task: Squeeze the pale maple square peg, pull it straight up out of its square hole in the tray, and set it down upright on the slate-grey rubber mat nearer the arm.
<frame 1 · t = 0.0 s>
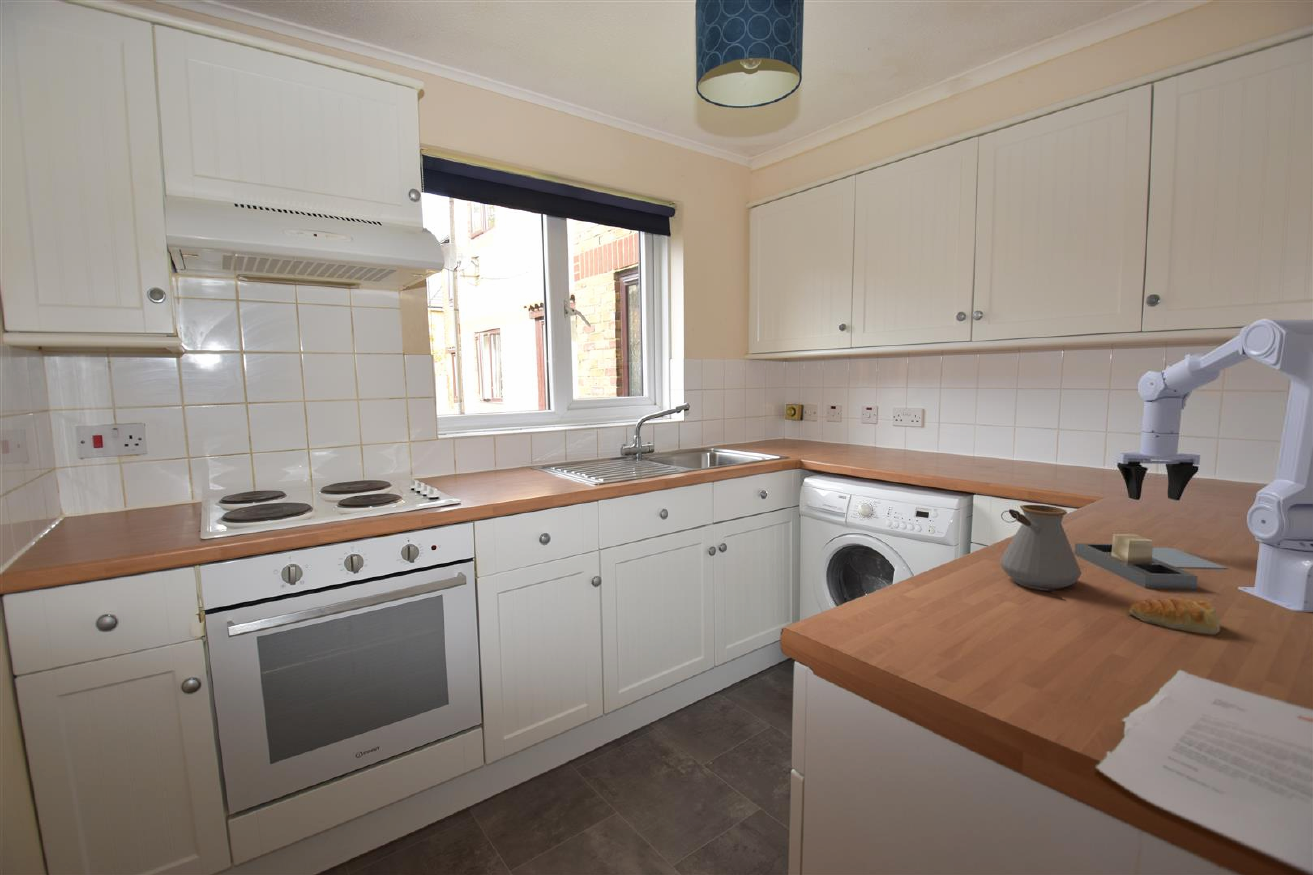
hand: (1153, 499, 119), 10 cm above the countertop, tool pointing down, fingers open, 7 cm apart
coffee pot: (1027, 590, 96), on the countertop
mat: (1164, 559, 112), on the countertop
tray: (1129, 572, 105), on the countertop
pastry: (1177, 626, 84), on the countertop
peg: (1129, 570, 105), resting on tray
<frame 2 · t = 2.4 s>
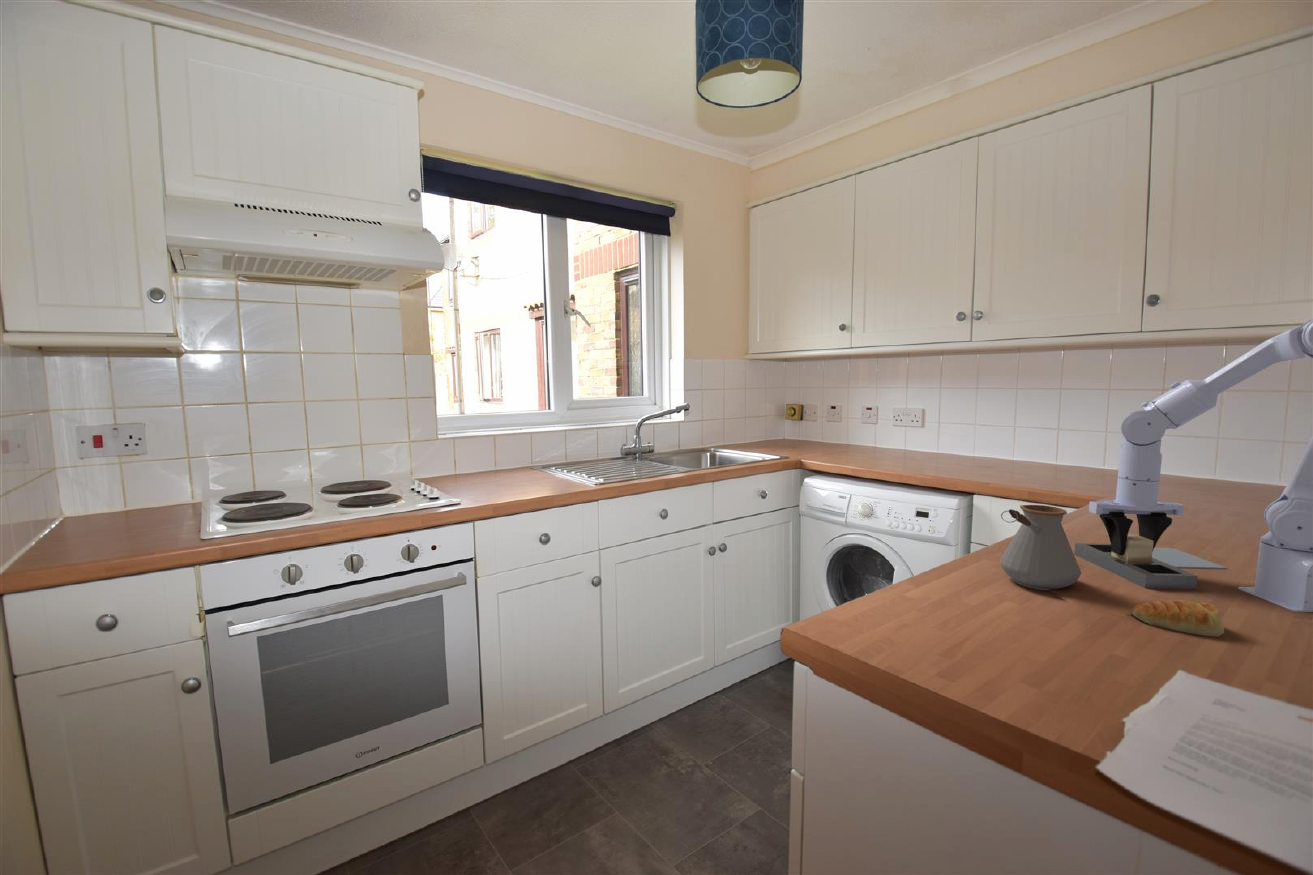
hand: (1131, 553, 104), 3 cm above the countertop, tool pointing down, fingers closed on peg, 4 cm apart
peg: (1129, 570, 105), resting on tray, touching gripper
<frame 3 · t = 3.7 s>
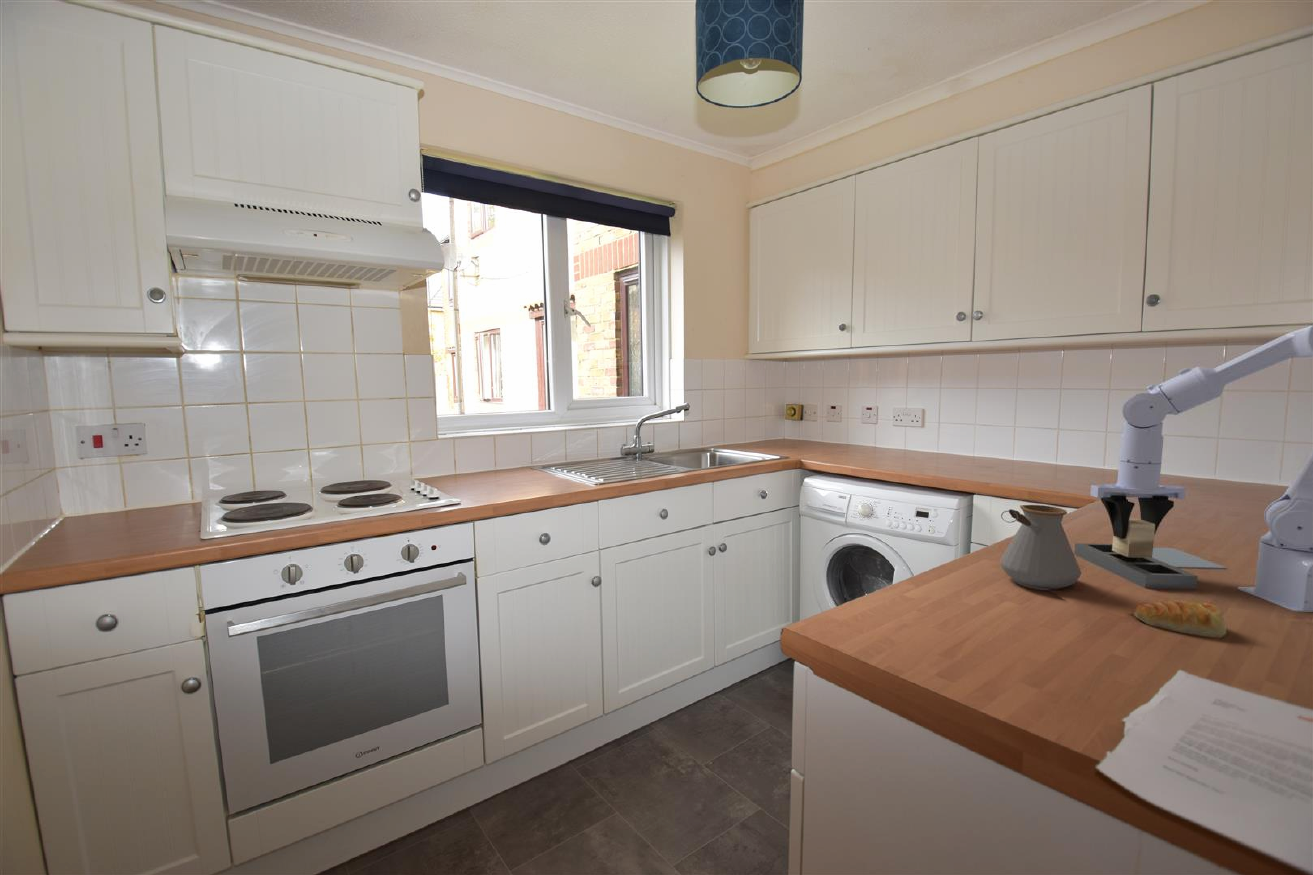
hand: (1133, 537, 104), 6 cm above the countertop, tool pointing down, fingers closed on peg, 4 cm apart
peg: (1131, 554, 104), point 3 cm above the countertop, touching gripper
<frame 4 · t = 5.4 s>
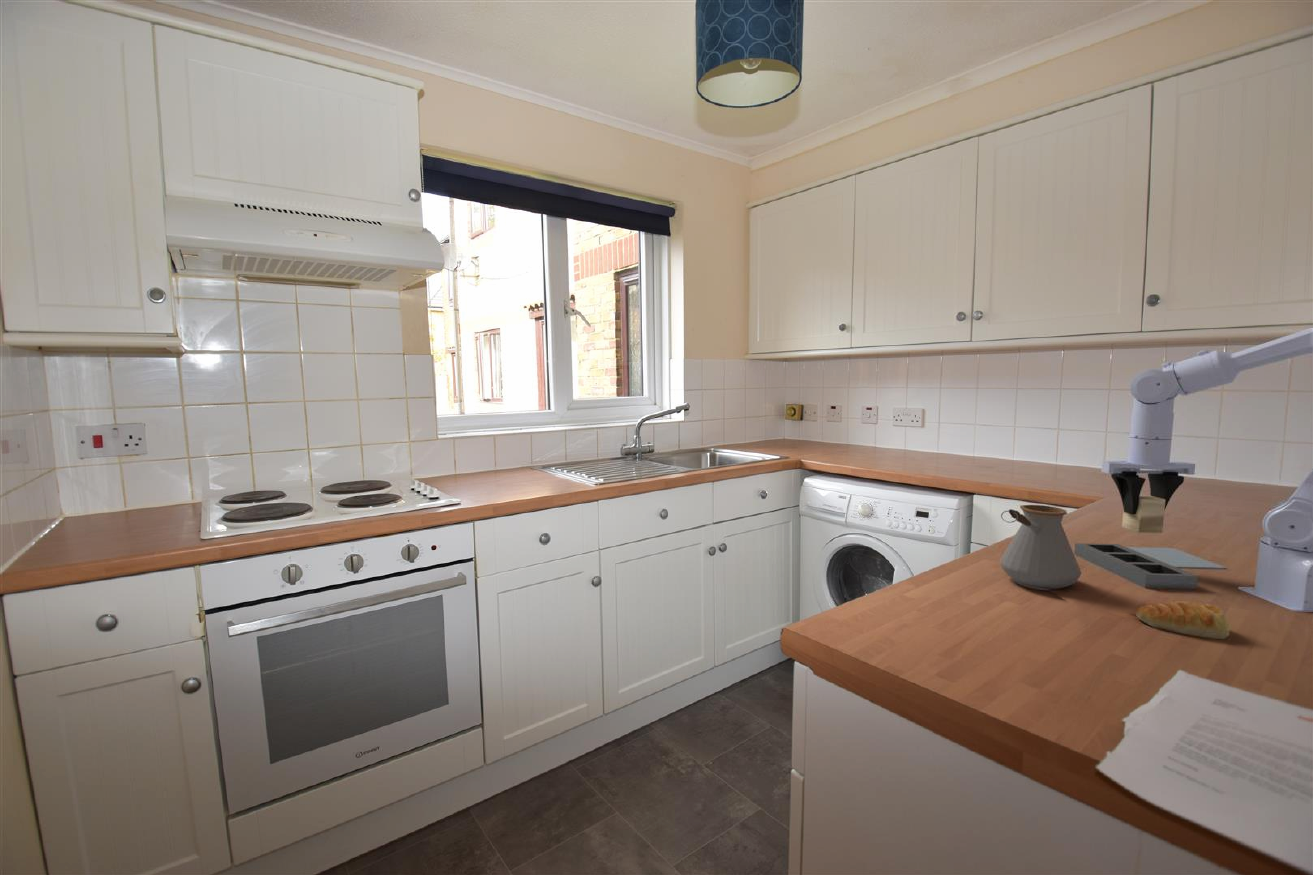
hand: (1143, 513, 105), 10 cm above the countertop, tool pointing down, fingers closed on peg, 4 cm apart
peg: (1141, 529, 106), point 7 cm above the countertop, touching gripper
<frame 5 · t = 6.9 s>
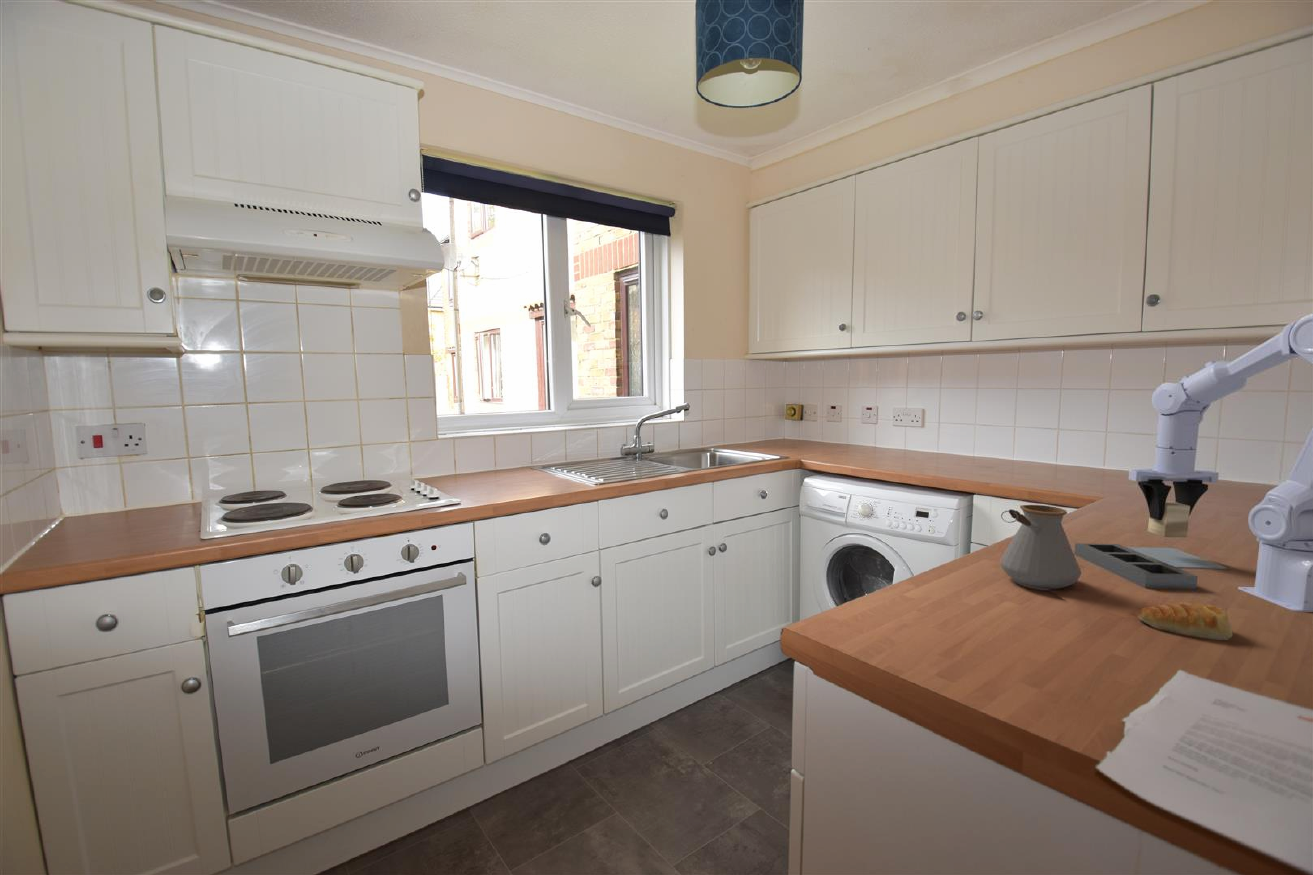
hand: (1168, 519, 111), 8 cm above the countertop, tool pointing down, fingers closed on peg, 4 cm apart
peg: (1166, 534, 112), point 5 cm above the countertop, touching gripper
when the fingers open (5 cm above the countertop, at t = 8.2 s): peg drops 1 cm, resting on mat.
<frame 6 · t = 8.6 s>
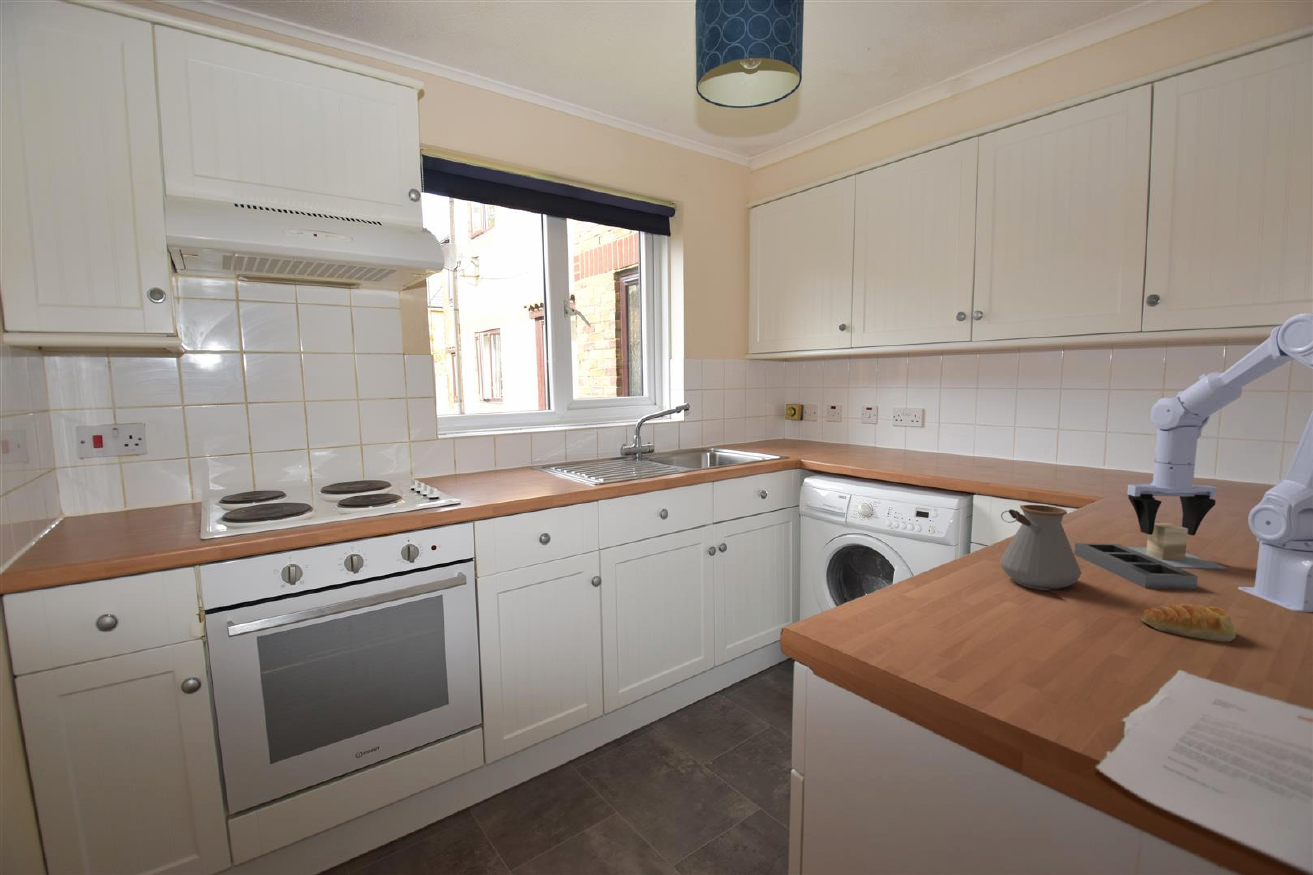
hand: (1167, 533, 111), 5 cm above the countertop, tool pointing down, fingers open, 7 cm apart
peg: (1165, 556, 112), point 1 cm above the countertop, touching mat
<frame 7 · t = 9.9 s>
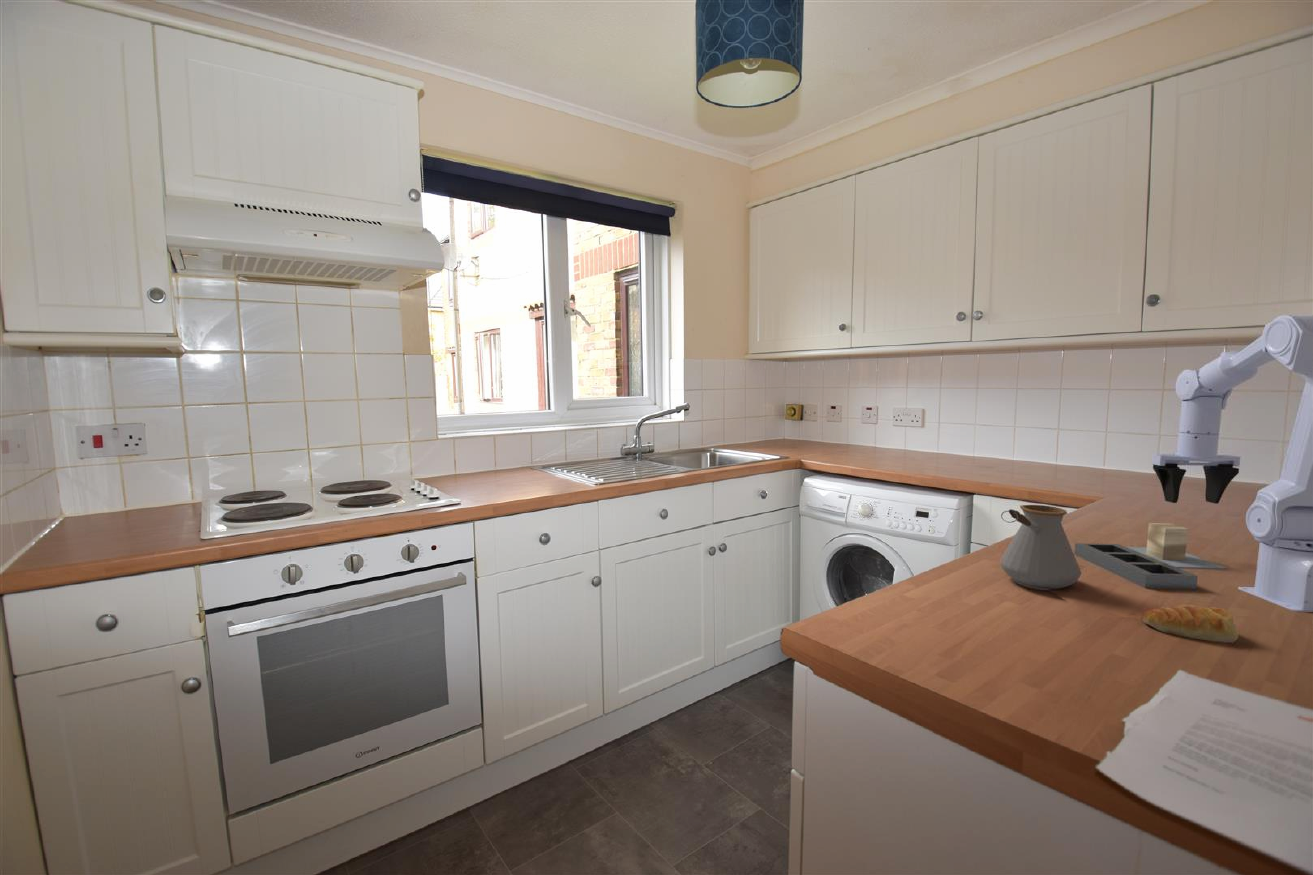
hand: (1191, 502, 114), 10 cm above the countertop, tool pointing down, fingers open, 7 cm apart
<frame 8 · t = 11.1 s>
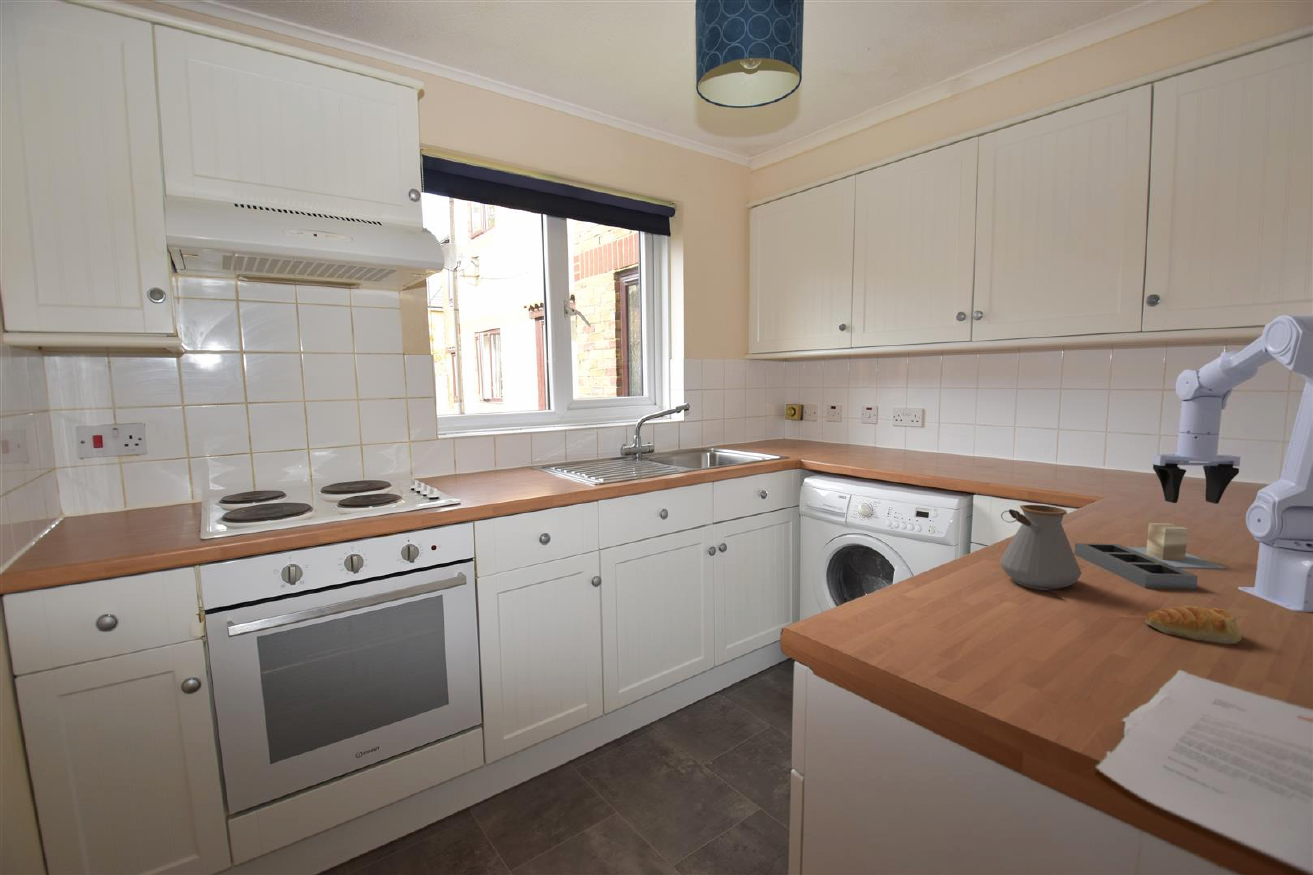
hand: (1191, 502, 114), 10 cm above the countertop, tool pointing down, fingers open, 7 cm apart
at the end: peg inside the target area on the mat (0.0 cm from its centre), point 0.6 cm above the mat's base; peg tilted 0°; the gripper is holding nothing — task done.
